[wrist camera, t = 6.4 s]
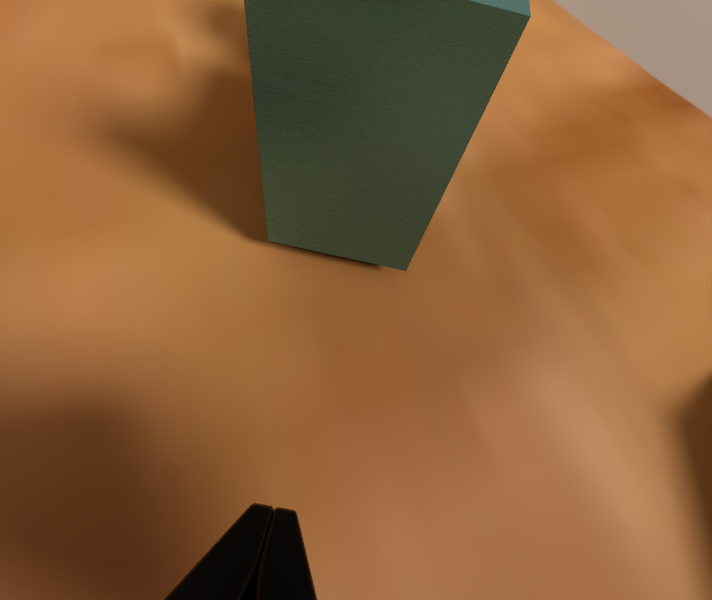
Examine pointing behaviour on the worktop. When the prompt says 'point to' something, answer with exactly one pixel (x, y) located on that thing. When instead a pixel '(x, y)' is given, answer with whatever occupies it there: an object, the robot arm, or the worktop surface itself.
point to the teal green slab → (369, 113)
